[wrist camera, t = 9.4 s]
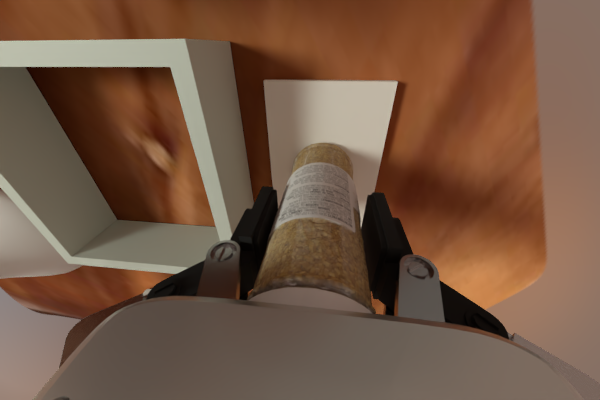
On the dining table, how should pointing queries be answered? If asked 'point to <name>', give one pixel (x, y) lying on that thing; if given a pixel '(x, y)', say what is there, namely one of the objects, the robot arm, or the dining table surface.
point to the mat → (329, 125)
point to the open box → (75, 177)
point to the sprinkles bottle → (317, 238)
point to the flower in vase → (25, 246)
